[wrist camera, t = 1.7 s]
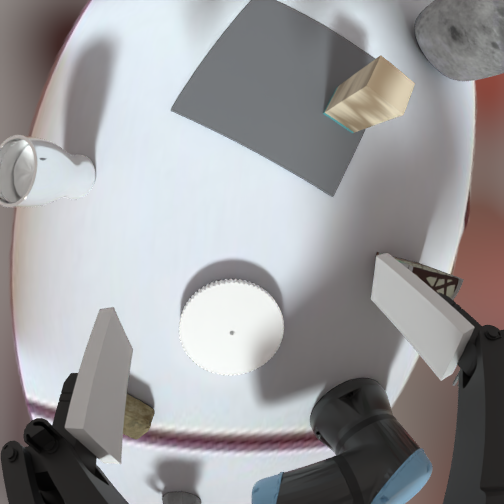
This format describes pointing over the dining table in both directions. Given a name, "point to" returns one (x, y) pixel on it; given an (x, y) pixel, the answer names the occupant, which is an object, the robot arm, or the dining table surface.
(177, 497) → the coffeepot
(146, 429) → the stone block
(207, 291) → the plastic lid
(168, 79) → the dining table surface
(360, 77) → the maple block
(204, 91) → the mat
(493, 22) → the vase
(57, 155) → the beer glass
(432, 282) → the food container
